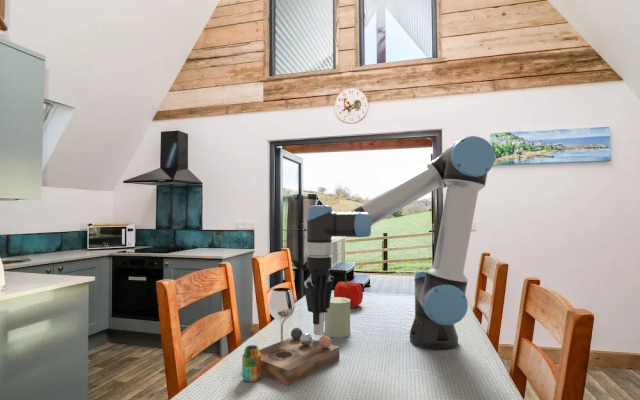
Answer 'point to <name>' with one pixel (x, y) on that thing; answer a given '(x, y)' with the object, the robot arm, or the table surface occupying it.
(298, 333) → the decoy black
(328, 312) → the can
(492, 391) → the table surface
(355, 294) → the red bell pepper
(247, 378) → the jar
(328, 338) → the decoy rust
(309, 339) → the steel ball
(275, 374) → the wooden block with hole
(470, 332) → the table surface
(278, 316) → the wineglass
